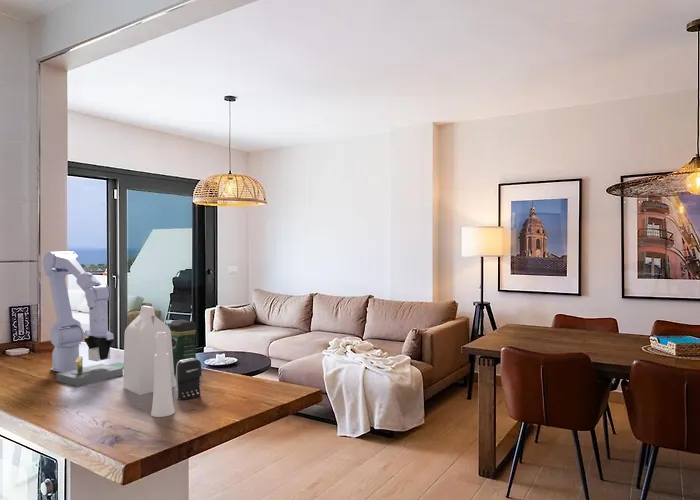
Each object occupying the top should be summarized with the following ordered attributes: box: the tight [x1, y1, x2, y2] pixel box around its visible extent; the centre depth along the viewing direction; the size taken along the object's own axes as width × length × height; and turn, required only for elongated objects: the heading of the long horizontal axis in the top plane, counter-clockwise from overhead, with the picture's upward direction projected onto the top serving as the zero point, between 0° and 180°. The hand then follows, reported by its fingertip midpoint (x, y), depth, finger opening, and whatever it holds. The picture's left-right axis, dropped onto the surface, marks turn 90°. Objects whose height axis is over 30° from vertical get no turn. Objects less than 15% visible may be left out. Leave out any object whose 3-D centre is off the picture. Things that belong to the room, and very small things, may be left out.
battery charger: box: [175, 357, 203, 401], centre depth 150 cm, size 7×4×11 cm, turn 133°
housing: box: [56, 363, 124, 387], centre depth 175 cm, size 13×16×3 cm
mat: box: [108, 361, 124, 369], centre depth 190 cm, size 9×9×1 cm
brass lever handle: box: [75, 356, 84, 372], centre depth 170 cm, size 2×8×5 cm, turn 22°
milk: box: [122, 305, 176, 396], centre depth 162 cm, size 12×12×26 cm
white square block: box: [87, 347, 111, 362], centre depth 178 cm, size 5×5×4 cm
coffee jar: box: [168, 319, 197, 374], centre depth 182 cm, size 10×8×19 cm
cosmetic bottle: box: [150, 332, 176, 418], centre depth 136 cm, size 6×6×22 cm
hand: (99, 358), depth 178 cm, fingers closed on white square block, 5 cm apart
